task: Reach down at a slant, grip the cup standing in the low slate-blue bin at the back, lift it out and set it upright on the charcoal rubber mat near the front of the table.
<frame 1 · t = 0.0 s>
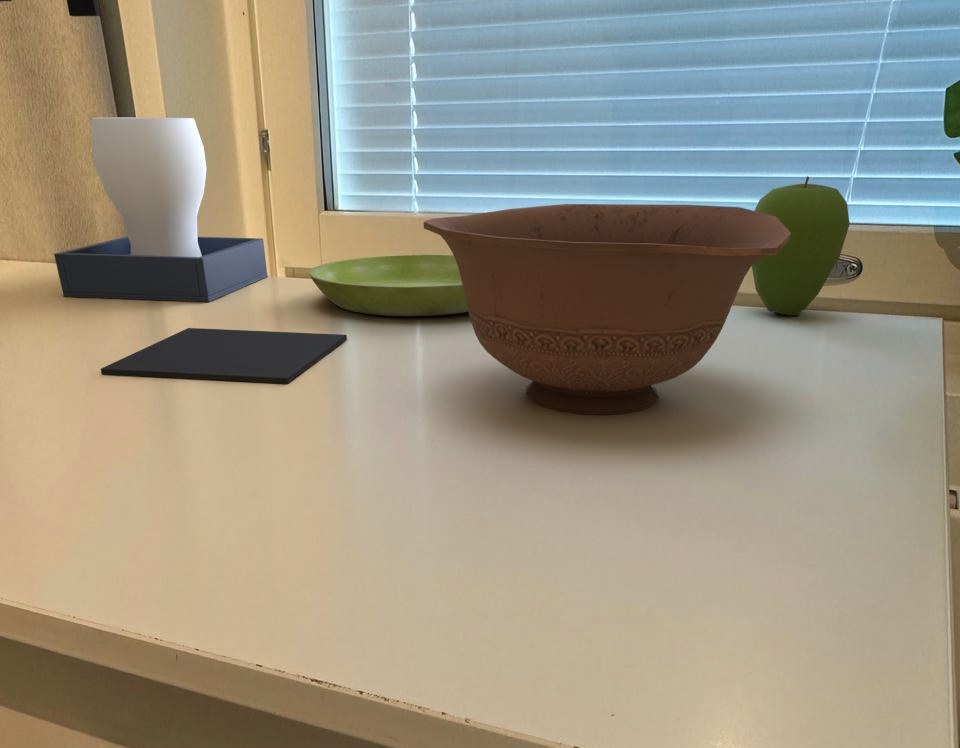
hand: (42, 9, 78), 24 cm above the table, tool pointing down, fingers open, 13 cm apart
mat: (233, 355, 68), on the table
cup: (171, 283, 94), resting on bin
bowl: (591, 398, 59), on the table
apple: (782, 316, 83), on the table
bin: (171, 286, 95), on the table
saucer: (417, 304, 87), on the table
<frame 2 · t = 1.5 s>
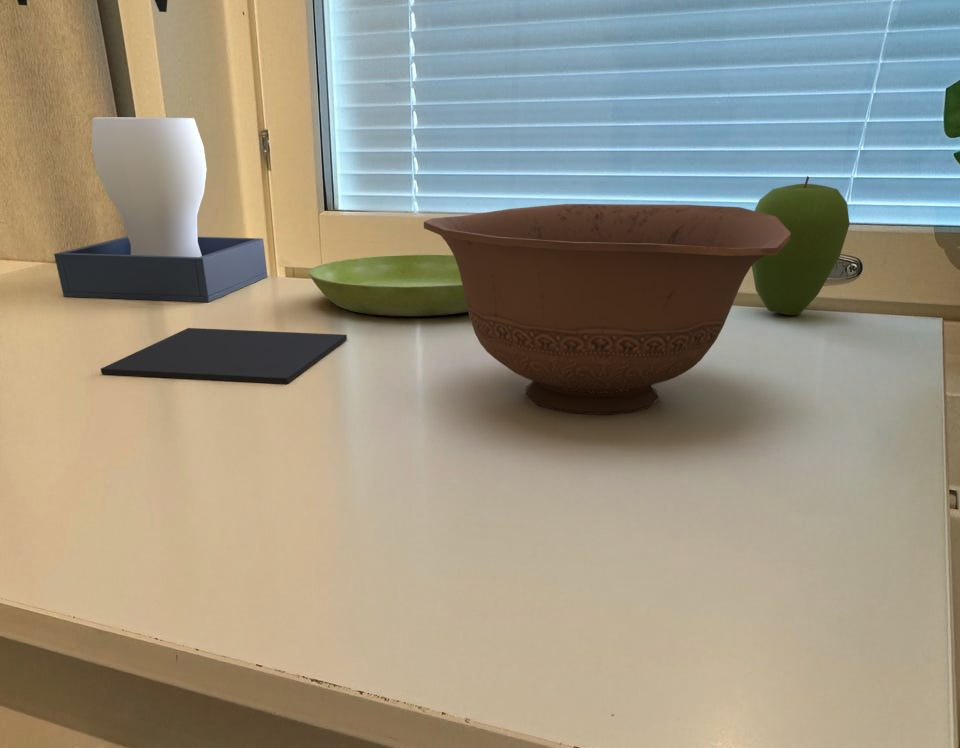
nothing on the table moved.
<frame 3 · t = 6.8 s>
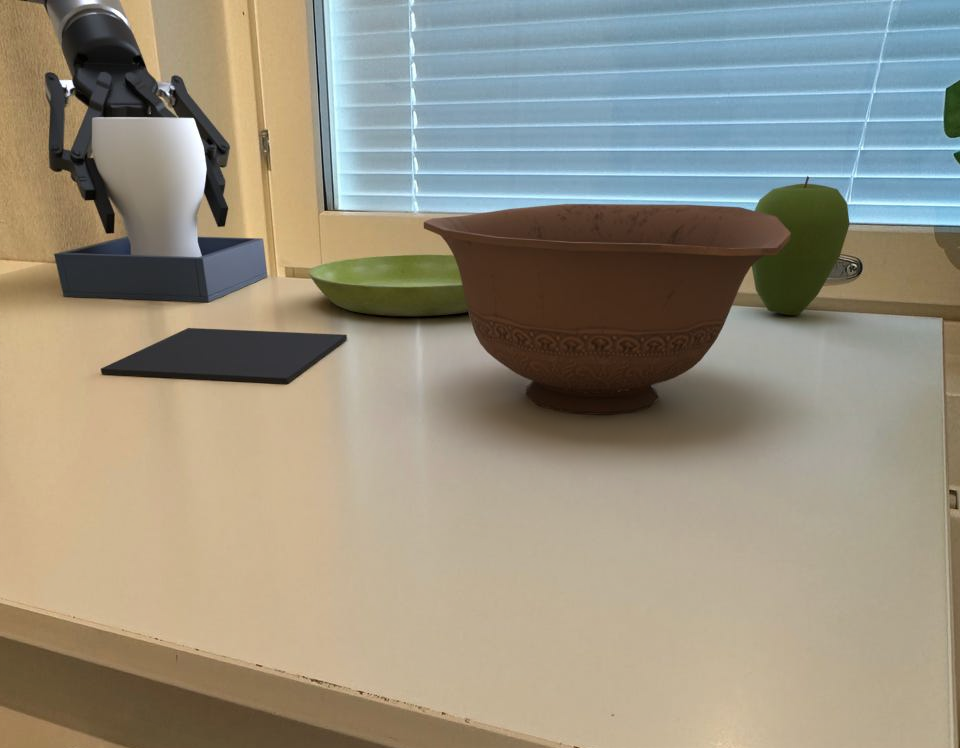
hand: (168, 220, 89), 7 cm above the table, tool tilted 45°, fingers closed on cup, 11 cm apart
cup: (171, 283, 94), resting on bin, touching gripper
everything else where it was.
when the fingers open (7 cm above the table, at t = 18.6 s): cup stays where it is, resting on mat.
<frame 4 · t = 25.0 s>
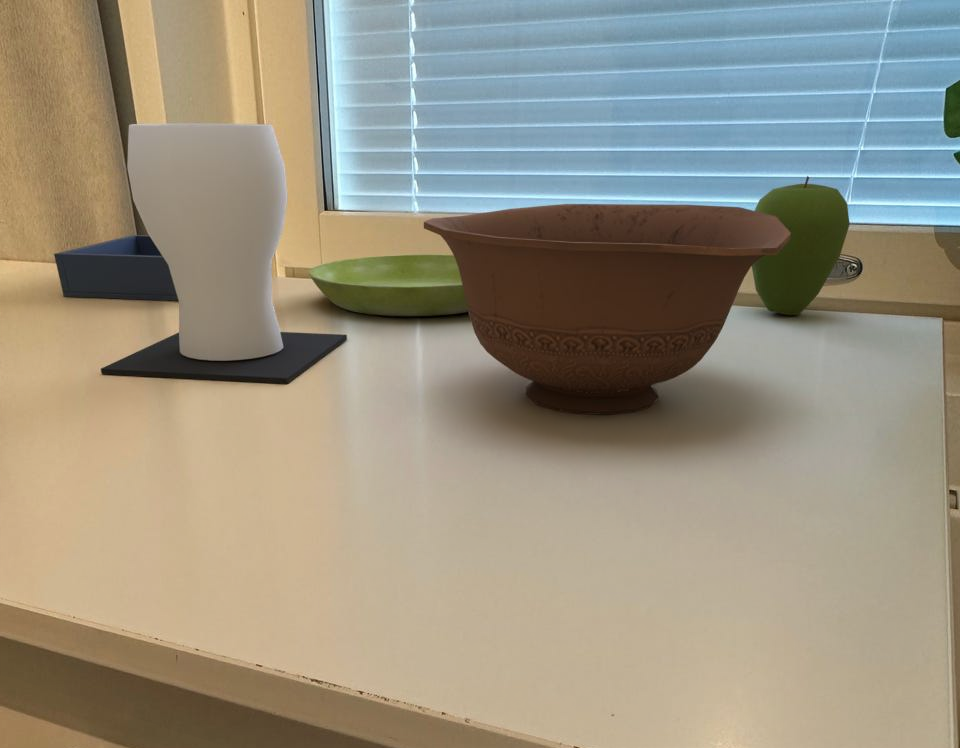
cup: (232, 352, 68), resting on mat
everything else where it was.
at the end: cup inside the target area on the mat (0.0 cm from its centre), point 0.2 cm above the mat's base; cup tilted 0°; the gripper is holding nothing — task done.
